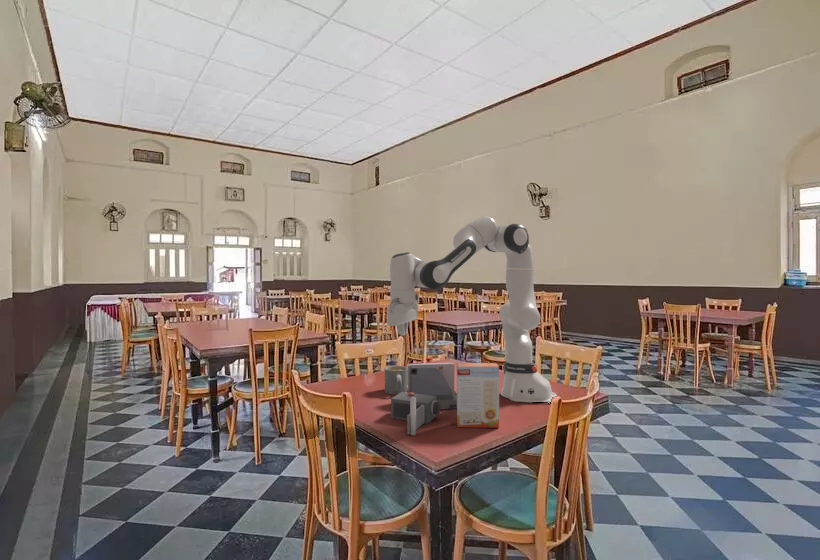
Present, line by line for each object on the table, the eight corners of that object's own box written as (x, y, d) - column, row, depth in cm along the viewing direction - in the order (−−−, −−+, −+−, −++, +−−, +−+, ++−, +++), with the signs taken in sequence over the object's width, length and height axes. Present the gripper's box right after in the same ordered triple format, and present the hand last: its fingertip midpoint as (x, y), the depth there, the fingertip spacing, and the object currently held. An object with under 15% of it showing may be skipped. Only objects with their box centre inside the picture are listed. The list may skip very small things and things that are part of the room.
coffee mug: (385, 388, 194) (385, 365, 194) (407, 388, 194) (407, 365, 194) (383, 397, 181) (383, 373, 181) (407, 397, 181) (407, 373, 181)
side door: (421, 422, 151) (421, 388, 151) (429, 423, 150) (429, 389, 149) (406, 434, 140) (406, 397, 140) (414, 435, 139) (414, 399, 139)
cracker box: (496, 422, 152) (497, 362, 151) (499, 428, 146) (499, 366, 145) (456, 421, 152) (456, 361, 152) (457, 427, 146) (457, 365, 146)
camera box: (441, 416, 158) (441, 394, 158) (433, 424, 149) (433, 401, 149) (401, 410, 164) (401, 389, 164) (390, 418, 156) (390, 396, 156)
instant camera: (456, 395, 184) (456, 359, 184) (460, 411, 164) (461, 371, 163) (406, 394, 185) (406, 359, 184) (404, 411, 164) (404, 371, 164)
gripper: (399, 299, 148) (399, 340, 149) (420, 295, 167) (421, 331, 168) (382, 299, 151) (383, 339, 151) (405, 295, 169) (405, 330, 170)
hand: (403, 335), depth 159 cm, fingers closed
